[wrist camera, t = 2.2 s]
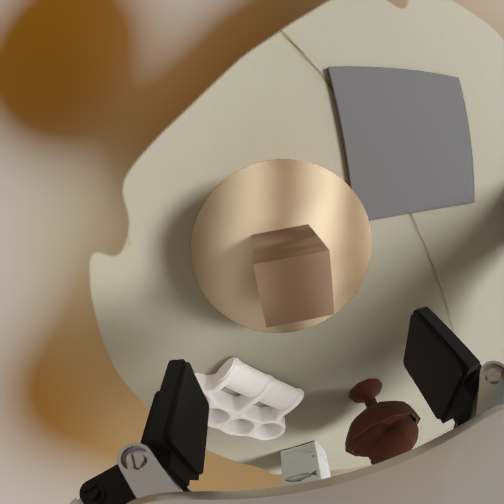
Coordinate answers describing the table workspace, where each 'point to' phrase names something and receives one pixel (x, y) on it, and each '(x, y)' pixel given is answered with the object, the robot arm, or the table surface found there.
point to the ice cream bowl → (380, 425)
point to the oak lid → (281, 246)
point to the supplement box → (304, 464)
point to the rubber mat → (404, 139)
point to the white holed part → (248, 401)
